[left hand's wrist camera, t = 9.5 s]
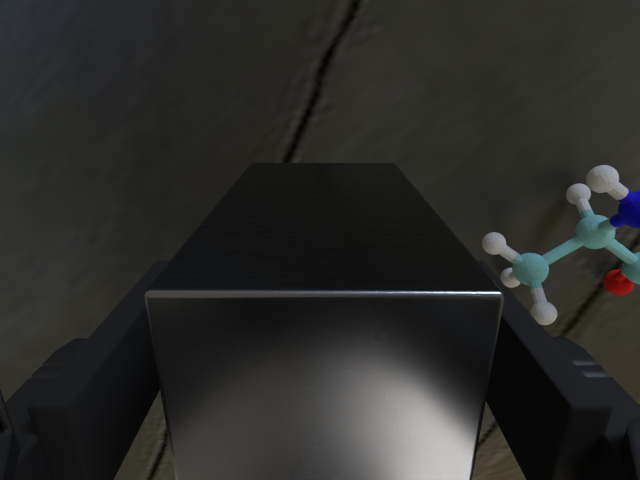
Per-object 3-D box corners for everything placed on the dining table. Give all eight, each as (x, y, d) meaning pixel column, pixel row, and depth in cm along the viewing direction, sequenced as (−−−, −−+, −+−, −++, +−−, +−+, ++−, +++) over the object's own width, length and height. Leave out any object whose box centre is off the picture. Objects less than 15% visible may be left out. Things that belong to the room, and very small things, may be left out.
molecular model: (500, 379, 25) (652, 407, 16) (443, 231, 27) (549, 172, 17) (650, 320, 28) (863, 312, 18) (590, 187, 29) (755, 113, 19)
